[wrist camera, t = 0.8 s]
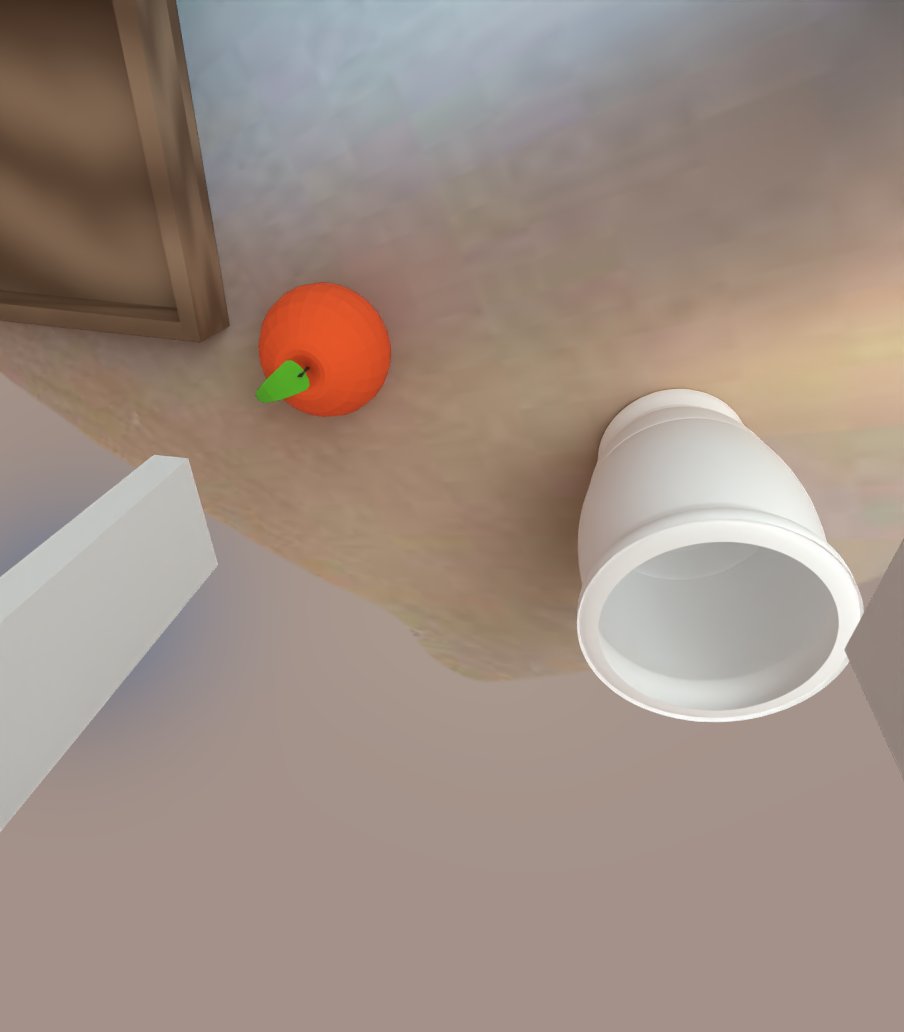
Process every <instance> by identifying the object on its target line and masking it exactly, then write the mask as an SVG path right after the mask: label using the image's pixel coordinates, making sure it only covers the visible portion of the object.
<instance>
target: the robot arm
mask: <svg viewBox="0 0 904 1032" xmlns="http://www.w3.org/2000/svg"><path fill="white" fill-rule="evenodd" d="M217 566H218V563H217V559H216V555H215V552H214V548H213V545H212V541H211V538H210V534H209V531H208V527H207V523H206V520H205V516H204V513H203V509H202V506H201V502H200V498H199V495H198V491H197V488H196V484H195V481H194V477H193V474H192V470H191V466H190V463H189V459H188V458H180V457H170V456H161V455H153V456H152V457H150V458H149V459H148V460H147V461H145V462H144V463H143V464H142V465H140V466H139V467H138V468H137V469H135V470H134V471H133V472H132V473H130V474H129V475H128V476H127V477H125V478H124V479H123V480H122V481H120V482H119V483H118V484H117V485H115V486H114V487H113V488H112V489H110V490H109V491H108V492H107V493H105V494H104V495H103V496H101V497H100V498H99V499H98V500H97V501H95V502H94V503H93V504H91V505H90V506H89V507H88V508H87V509H85V510H84V511H83V512H81V513H80V514H79V515H78V516H76V517H75V518H74V519H73V520H71V522H69V523H68V524H66V525H65V526H64V527H63V528H61V529H60V530H59V531H58V532H56V533H55V534H54V535H53V536H51V537H50V538H49V539H48V540H46V541H45V542H44V543H42V544H41V545H40V546H39V547H37V548H36V549H35V550H34V551H33V552H31V553H30V554H29V555H27V556H26V557H25V558H24V559H23V560H21V561H20V562H19V563H17V564H16V565H15V566H14V567H12V568H11V569H10V570H9V571H7V572H6V573H5V574H4V575H2V576H1V577H0V832H1V830H2V829H3V828H4V827H5V826H6V824H7V823H8V822H9V821H10V819H11V818H12V817H13V816H14V814H15V813H16V812H17V811H18V809H19V808H20V807H21V806H22V805H23V803H24V802H25V801H26V800H27V799H28V797H29V796H30V795H31V793H32V792H33V791H34V790H35V789H36V788H37V786H38V785H39V784H40V783H41V781H42V780H43V779H44V778H45V776H46V775H47V774H48V773H49V772H50V770H51V769H52V768H53V767H54V765H55V764H56V763H57V762H58V761H59V759H60V758H61V757H62V756H63V754H64V753H65V752H66V751H67V750H68V748H69V747H70V746H71V745H72V743H73V742H74V741H75V740H76V739H77V737H78V736H79V735H80V734H81V732H82V731H83V730H84V728H85V727H86V726H87V725H88V724H89V723H90V721H91V720H92V719H93V718H94V716H95V715H96V714H97V713H98V712H99V710H100V709H101V708H102V707H103V705H104V704H105V703H106V702H107V700H108V699H109V698H110V697H111V695H112V694H113V693H114V692H115V691H116V690H117V688H118V687H119V686H120V685H121V683H122V682H123V681H124V680H125V678H126V677H127V676H128V675H129V674H130V672H131V671H132V670H133V669H134V667H135V666H136V665H137V664H138V662H139V661H140V660H141V659H142V658H143V656H144V655H145V654H146V653H147V652H148V650H149V649H150V648H151V647H152V645H153V644H154V643H155V642H156V640H157V639H158V638H159V636H161V634H162V633H163V632H164V631H165V629H166V628H167V627H168V626H169V625H170V623H171V622H172V621H173V619H174V618H175V617H176V616H177V615H178V614H179V612H180V611H181V610H182V609H183V607H184V606H185V605H186V604H187V603H188V601H189V600H190V599H191V598H192V596H193V595H194V594H195V593H196V591H197V590H198V589H199V588H200V587H201V585H202V584H203V583H204V582H205V580H206V579H207V578H208V577H209V575H210V574H211V573H212V572H213V571H214V569H215V568H216V567H217ZM844 650H845V653H846V655H847V657H848V659H849V661H850V664H851V666H852V668H853V670H854V672H855V675H856V677H857V679H858V681H859V683H860V685H861V688H862V690H863V692H864V694H865V696H866V699H867V701H868V703H869V705H870V707H871V710H872V712H873V714H874V716H875V718H876V720H877V723H878V725H879V727H880V729H881V731H882V734H883V736H884V738H885V740H886V742H887V745H888V747H889V749H890V751H891V753H892V756H893V758H894V760H895V762H896V764H897V766H898V768H899V771H900V773H901V775H902V777H903V779H904V539H903V541H902V543H901V544H900V546H899V548H898V550H897V552H896V554H895V556H894V557H893V559H892V561H891V563H890V565H889V567H888V569H887V571H886V572H885V574H884V576H883V578H882V580H881V582H880V584H879V585H878V587H877V589H876V591H875V593H874V595H873V597H872V598H871V600H870V602H869V604H868V606H867V608H866V610H865V611H864V613H863V615H862V617H861V619H860V621H859V623H858V625H857V626H856V628H855V630H854V632H853V634H852V636H851V638H850V639H849V641H848V643H847V645H846V647H845V649H844Z"/></svg>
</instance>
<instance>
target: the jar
mask: <svg viewBox="0 0 904 1032" xmlns="http://www.w3.org/2000/svg"><path fill="white" fill-rule="evenodd" d="M578 560H579V569H580V576H581V582H582V589H581V592H580V595H579V599H578V605H577V632H578V639H579V643H580V647H581V650H582V652H583V655H584V657H585V659H586V661H587V662H588V664H589V666H590V667H591V669H592V670H593V671H594V673H595V674H596V675H597V676H598V677H599V679H601V681H602V682H603V683H604V684H606V685H607V686H608V687H609V688H610V689H611V690H613V691H614V692H616V693H617V694H618V695H620V696H621V697H623V698H624V699H626V700H628V701H630V702H631V703H633V704H635V705H638V706H640V707H642V708H644V709H647V710H649V711H652V712H655V713H658V714H661V715H665V716H669V717H673V718H678V719H684V720H691V721H701V722H728V721H738V720H746V719H751V718H757V717H761V716H765V715H769V714H772V713H775V712H779V711H781V710H784V709H787V708H789V707H792V706H794V705H796V704H798V703H800V702H802V701H804V700H806V699H808V698H809V697H811V696H813V695H814V694H816V693H817V692H819V691H820V690H822V689H823V688H824V687H826V686H827V685H828V684H829V683H830V682H832V681H833V680H834V679H835V678H836V677H837V676H838V675H839V674H840V673H841V671H842V670H843V669H844V668H845V667H846V665H847V664H848V663H849V659H848V657H847V655H846V653H845V650H844V649H845V647H846V645H847V643H848V641H849V639H850V638H851V636H852V634H853V632H854V630H855V628H856V626H857V625H858V623H859V621H860V619H861V617H862V615H863V613H864V608H863V602H862V598H861V594H860V591H859V589H858V586H857V584H856V582H855V580H854V578H853V575H852V573H851V571H850V569H849V568H848V566H847V565H846V563H845V562H844V560H843V559H842V558H841V557H840V555H839V554H838V553H837V552H836V551H835V550H834V549H833V548H832V547H831V546H830V545H829V544H828V543H827V541H826V537H825V534H824V531H823V528H822V525H821V522H820V519H819V517H818V514H817V512H816V510H815V507H814V505H813V503H812V501H811V499H810V497H809V496H808V494H807V492H806V490H805V489H804V487H803V486H802V484H801V483H800V481H799V480H798V478H797V477H796V475H795V474H794V473H793V472H792V470H791V469H790V468H789V467H788V466H787V464H786V463H785V462H784V461H783V460H782V459H781V458H780V457H779V456H778V455H777V454H776V453H775V452H774V451H773V450H772V449H771V448H769V447H768V446H767V445H766V444H765V443H763V442H762V440H761V439H760V438H759V437H758V436H756V435H755V434H754V433H753V432H752V431H751V430H750V429H748V428H747V427H746V426H744V425H743V423H742V421H741V420H740V418H739V417H738V415H737V414H736V413H735V412H734V411H733V410H732V409H731V408H730V407H729V406H728V405H727V404H726V403H724V402H723V401H721V400H720V399H718V398H716V397H714V396H712V395H710V394H707V393H704V392H701V391H696V390H690V389H668V390H662V391H658V392H654V393H651V394H648V395H646V396H643V397H641V398H639V399H637V400H636V401H634V402H632V403H631V404H629V405H628V406H626V407H625V408H624V409H623V410H622V411H620V412H619V413H618V414H617V415H616V416H615V418H614V419H613V420H612V421H611V423H610V424H609V426H608V427H607V429H606V431H605V433H604V435H603V437H602V439H601V442H600V446H599V451H598V462H597V464H596V467H595V469H594V472H593V475H592V478H591V482H590V486H589V489H588V491H587V494H586V497H585V500H584V503H583V507H582V511H581V516H580V522H579V531H578Z"/></svg>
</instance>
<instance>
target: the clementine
mask: <svg viewBox="0 0 904 1032" xmlns="http://www.w3.org/2000/svg"><path fill="white" fill-rule="evenodd" d="M259 356H260V362H261V365H262V368H263V371H264V374H265V376H266V378H267V379H266V380H265V382H264V383H263V384H262V385H261V387H260V388H259V389H258V390H257V392H256V394H255V396H256V397H257V399H258V400H259V401H261V402H273V401H278V400H282V399H283V400H284V401H286V402H287V403H289V404H290V405H291V406H293V407H294V408H296V409H298V410H300V411H303V412H305V413H307V414H310V415H316V416H322V417H326V416H339V415H346V414H348V413H351V412H353V411H356V410H358V409H359V408H361V407H362V406H364V405H365V404H366V403H367V402H369V401H370V400H371V399H372V398H374V397H375V396H376V394H377V393H378V391H379V390H380V388H381V387H382V385H383V384H384V381H385V379H386V376H387V372H388V369H389V366H390V360H391V346H390V341H389V337H388V333H387V330H386V328H385V326H384V324H383V322H382V320H381V318H380V316H379V314H378V313H377V312H376V311H375V309H374V308H373V307H372V306H371V304H370V303H369V302H367V301H366V300H365V299H364V298H362V297H361V296H360V295H358V294H357V293H356V292H354V291H352V290H350V289H347V288H345V287H343V286H340V285H337V284H330V283H323V282H322V283H315V284H308V285H303V286H299V287H297V288H295V289H293V290H291V291H289V292H287V293H285V294H284V295H283V296H282V297H281V298H280V299H279V300H278V301H277V302H276V303H275V304H274V305H273V307H272V308H271V309H270V310H269V311H268V313H267V315H266V317H265V319H264V321H263V323H262V328H261V334H260V340H259Z"/></svg>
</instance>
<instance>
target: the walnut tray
mask: <svg viewBox="0 0 904 1032" xmlns="http://www.w3.org/2000/svg"><path fill="white" fill-rule="evenodd" d="M0 321H8V322H17V323H26V324H36V325H45V326H54V327H63V328H72V329H82V330H91V331H100V332H109V333H118V334H127V335H137V336H146V337H155V338H164V339H173V340H183V341H192V342H202V341H204V340H206V339H207V338H209V337H211V336H213V335H214V334H216V333H218V332H219V331H221V330H223V329H225V328H226V327H228V326H230V325H229V319H228V313H227V307H226V301H225V295H224V289H223V283H222V277H221V271H220V265H219V259H218V253H217V247H216V241H215V235H214V229H213V223H212V217H211V211H210V205H209V199H208V193H207V187H206V180H205V174H204V168H203V162H202V156H201V150H200V144H199V138H198V132H197V126H196V120H195V114H194V108H193V102H192V96H191V90H190V84H189V78H188V72H187V66H186V60H185V54H184V48H183V42H182V36H181V30H180V24H179V18H178V12H177V6H176V0H0Z"/></svg>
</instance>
